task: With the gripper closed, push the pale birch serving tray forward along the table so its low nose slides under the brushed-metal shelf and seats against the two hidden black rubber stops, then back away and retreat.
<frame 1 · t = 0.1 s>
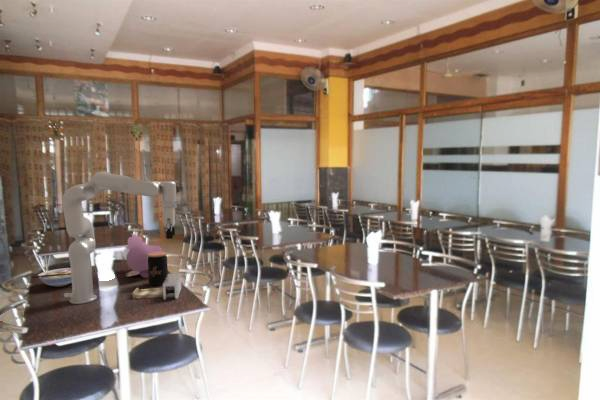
hand: (170, 236, 222), 31 cm above the table, fingers open, 9 cm apart
coffee jar: (158, 284, 245), on the table
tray: (149, 294, 225), on the table
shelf: (172, 293, 227), on the table
ramen bowl: (61, 285, 245), on the table
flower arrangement: (142, 274, 267), on the table
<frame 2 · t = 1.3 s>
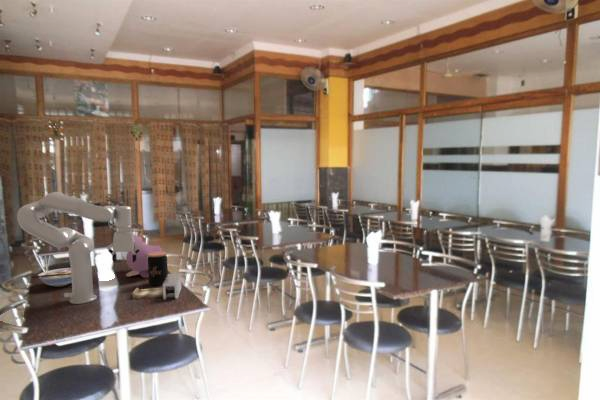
hand: (124, 261, 221), 19 cm above the table, fingers open, 9 cm apart
nothing on the table moved.
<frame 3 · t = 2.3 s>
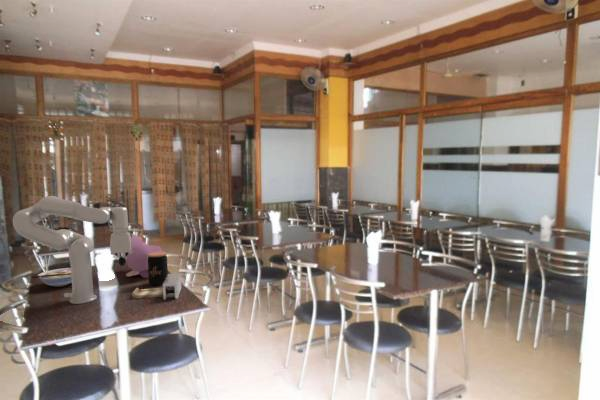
hand: (122, 265, 221), 17 cm above the table, fingers closed
nothing on the table moved.
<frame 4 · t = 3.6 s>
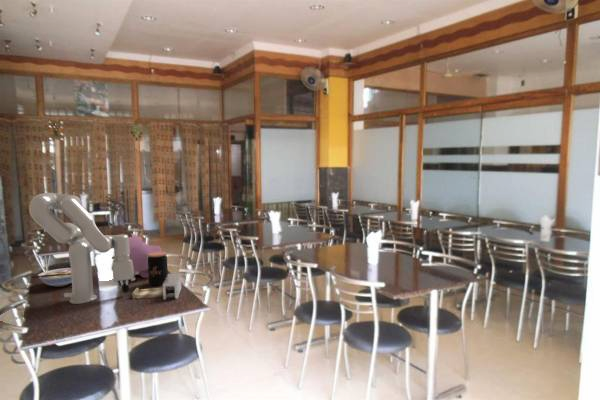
hand: (125, 291, 223), 2 cm above the table, fingers closed
nothing on the table moved.
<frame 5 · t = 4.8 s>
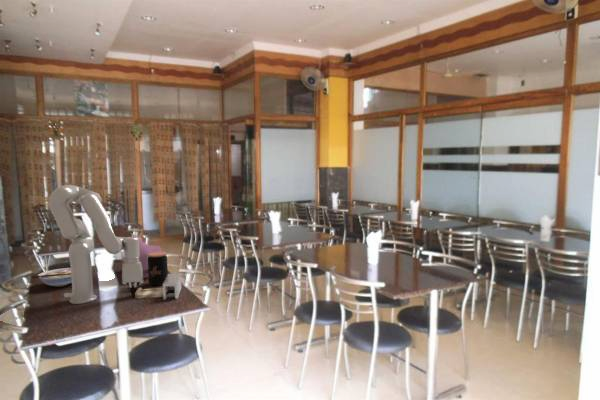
hand: (133, 294, 223), 1 cm above the table, fingers closed
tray: (152, 294, 225), on the table, touching gripper
everything else where it was.
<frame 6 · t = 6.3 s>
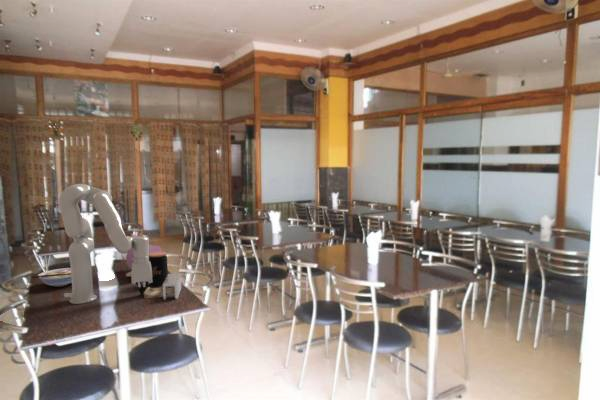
hand: (142, 293, 224), 1 cm above the table, fingers closed
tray: (160, 294, 226), on the table, touching gripper, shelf
everything else where it was.
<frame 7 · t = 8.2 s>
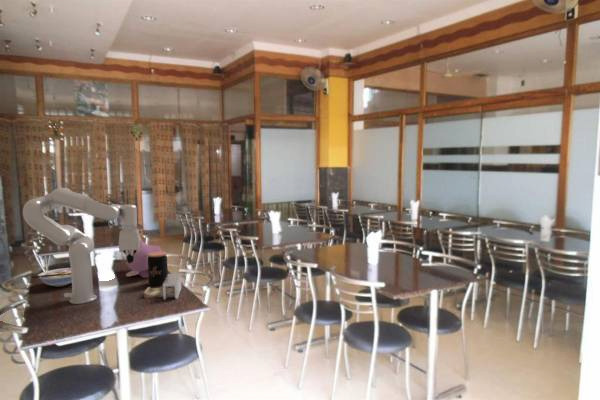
hand: (130, 262, 222), 18 cm above the table, fingers closed
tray: (160, 294, 226), on the table
everything else where it was.
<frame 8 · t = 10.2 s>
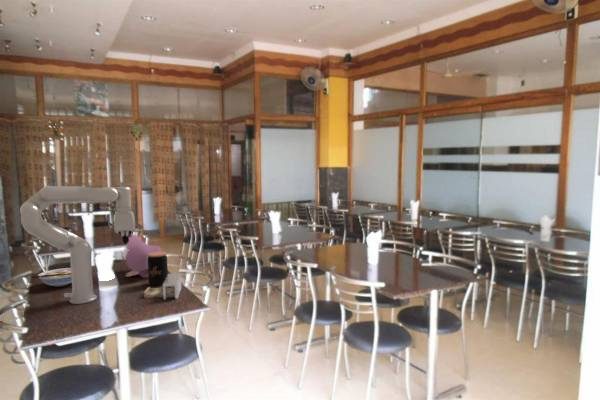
hand: (125, 243, 228), 27 cm above the table, fingers closed
nothing on the table moved.
at the end: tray 0.4 cm from the target spot, on the table; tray tilted 0° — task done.
